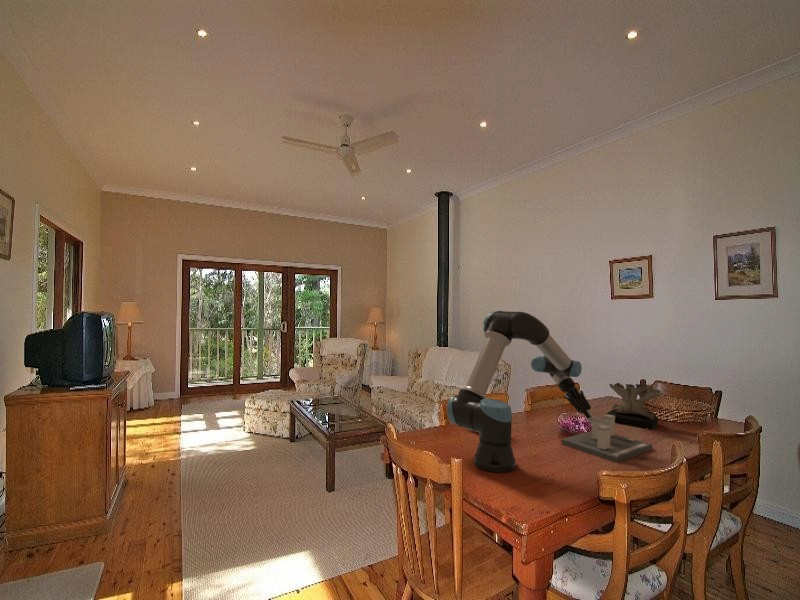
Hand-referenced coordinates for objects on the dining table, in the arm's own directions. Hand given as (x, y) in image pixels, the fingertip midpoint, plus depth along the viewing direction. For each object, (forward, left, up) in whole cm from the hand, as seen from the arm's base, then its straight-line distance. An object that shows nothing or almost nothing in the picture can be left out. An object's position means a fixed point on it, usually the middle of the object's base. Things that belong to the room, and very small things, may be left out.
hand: (595, 423), depth 188 cm
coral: (+35, +1, -6) cm, 35 cm away
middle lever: (-9, -6, -3) cm, 12 cm away
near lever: (-18, -15, -3) cm, 23 cm away
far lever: (0, -6, -3) cm, 7 cm away
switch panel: (-9, -10, -6) cm, 15 cm away
